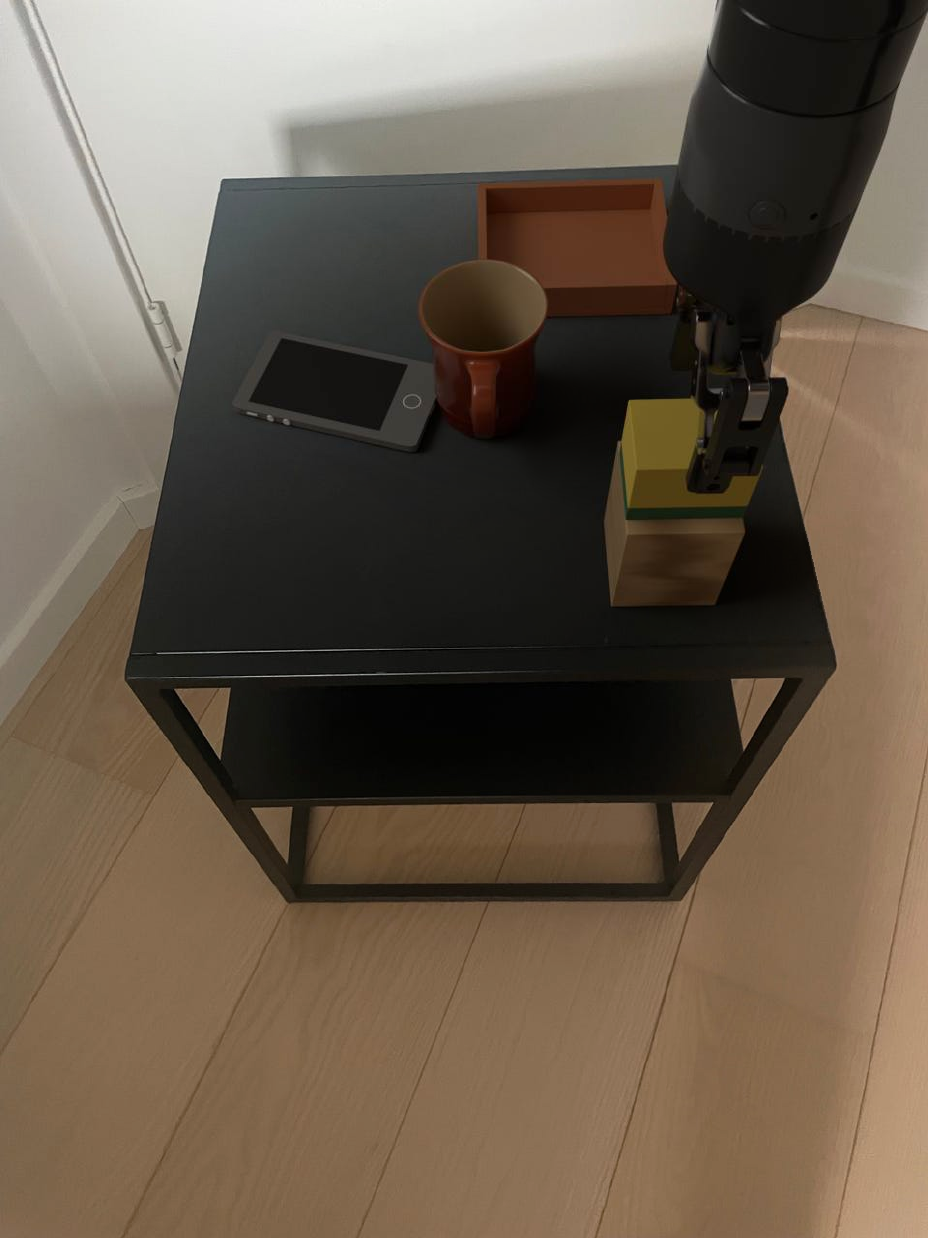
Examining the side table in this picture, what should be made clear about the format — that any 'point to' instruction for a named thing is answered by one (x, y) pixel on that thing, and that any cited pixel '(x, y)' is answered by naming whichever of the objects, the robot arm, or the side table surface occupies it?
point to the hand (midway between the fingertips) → (696, 424)
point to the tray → (583, 242)
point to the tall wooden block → (666, 555)
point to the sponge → (670, 465)
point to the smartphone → (339, 391)
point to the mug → (484, 343)
